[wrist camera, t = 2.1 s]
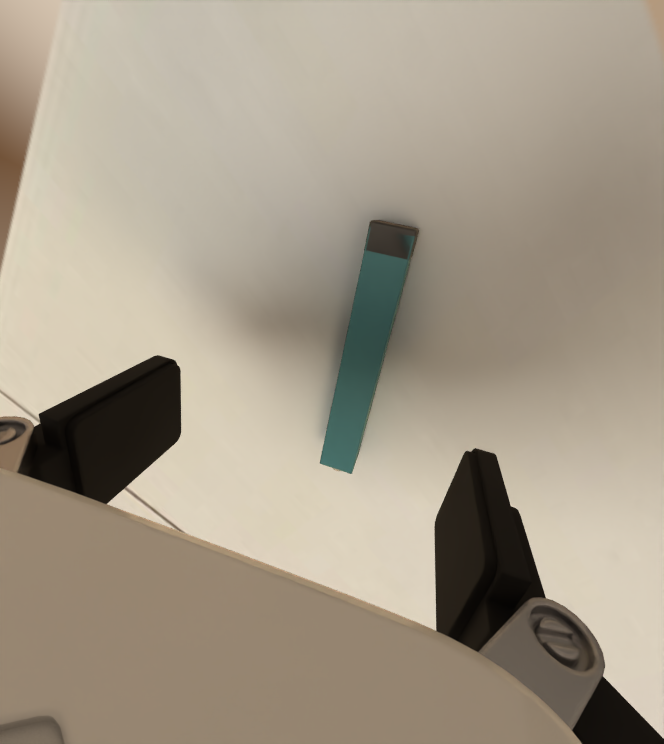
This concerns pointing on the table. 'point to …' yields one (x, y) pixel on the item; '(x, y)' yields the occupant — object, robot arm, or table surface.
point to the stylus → (367, 339)
